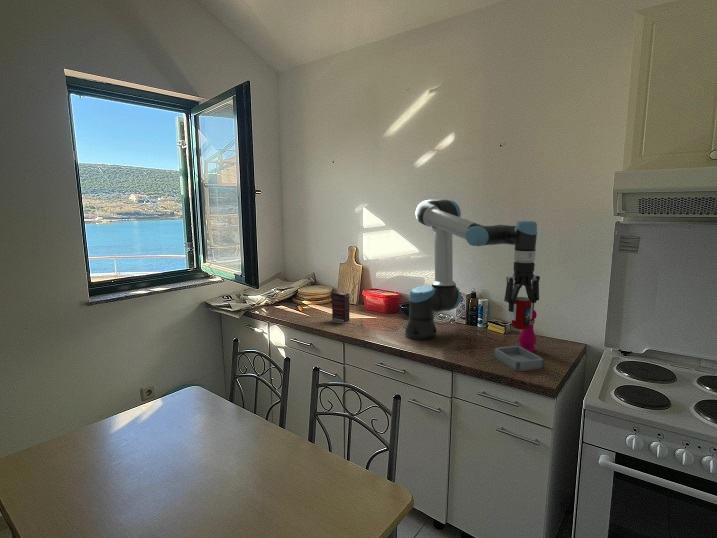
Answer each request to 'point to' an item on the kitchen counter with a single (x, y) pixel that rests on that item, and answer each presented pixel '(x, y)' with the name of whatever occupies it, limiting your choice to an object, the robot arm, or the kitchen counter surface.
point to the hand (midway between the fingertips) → (520, 318)
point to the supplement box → (340, 307)
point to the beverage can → (522, 313)
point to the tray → (518, 358)
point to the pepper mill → (528, 335)
